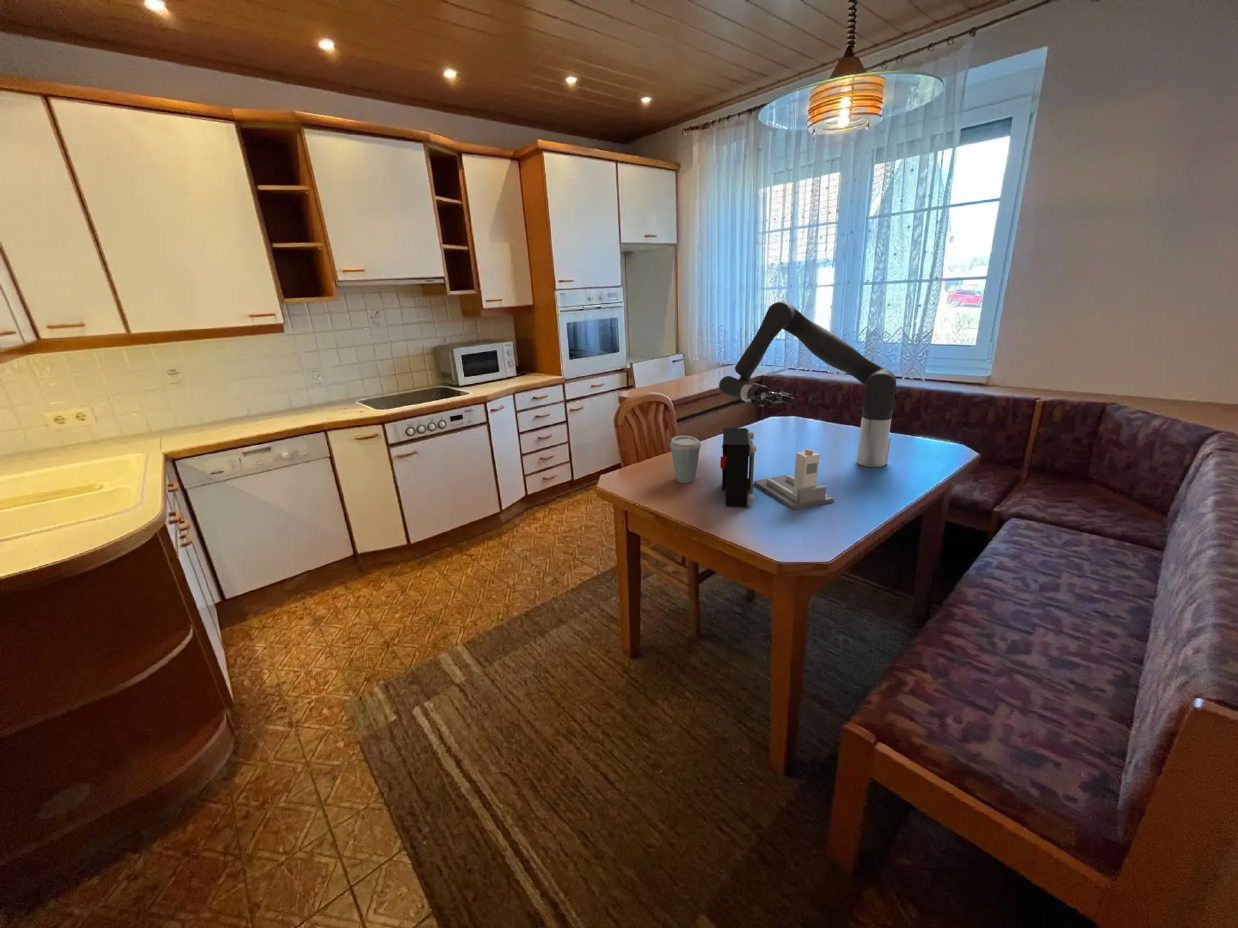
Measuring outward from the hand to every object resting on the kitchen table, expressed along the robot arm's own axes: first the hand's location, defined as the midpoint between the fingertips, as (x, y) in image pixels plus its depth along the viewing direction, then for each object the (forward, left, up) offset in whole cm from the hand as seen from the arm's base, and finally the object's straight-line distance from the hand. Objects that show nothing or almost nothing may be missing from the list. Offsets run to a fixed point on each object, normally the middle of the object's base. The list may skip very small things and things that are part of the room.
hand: (782, 402), depth 163 cm
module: (+5, +21, -25) cm, 33 cm away
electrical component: (+22, +10, -26) cm, 35 cm away
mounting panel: (+5, +15, -26) cm, 30 cm away
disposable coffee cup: (+31, -9, -26) cm, 41 cm away
